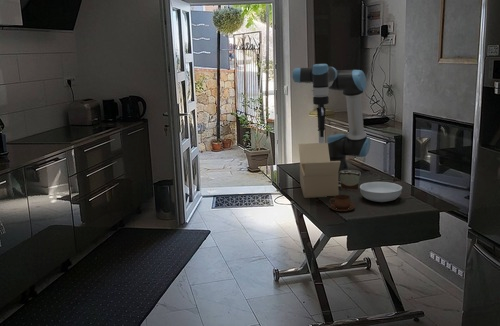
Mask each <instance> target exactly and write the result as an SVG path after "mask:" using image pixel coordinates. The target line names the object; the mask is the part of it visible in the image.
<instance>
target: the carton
mask: <svg viewBox="0 0 500 326" xmlns="http://www.w3.org/2000/svg"><path fill="white" fill-rule="evenodd" d="M305 164H306V163H300V162H299V185H300V187H301V191H302V195H303V198H305V199H307V198H328V197H327V196H337V195H339V174H338V175H331V176H307V177H304V175H305Z"/></svg>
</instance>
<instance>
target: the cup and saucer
mask: <svg viewBox="0 0 500 326" xmlns="http://www.w3.org/2000/svg"><path fill="white" fill-rule="evenodd" d="M332 200H333V201H334V202H332ZM329 208H331V209H332V210H334V211H337V212H349V211H352V210H354V209H355V208H356V205H355V203H354V202H353V203H352V202H351V196H350V195H346V194H338V195H337V196H335V197H330V199H329ZM336 208H337V209H336ZM348 208H349V209H348Z"/></svg>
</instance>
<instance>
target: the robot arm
mask: <svg viewBox="0 0 500 326" xmlns="http://www.w3.org/2000/svg"><path fill="white" fill-rule="evenodd" d="M292 79H293V82H294V83H297V84H301V83H305V84H311V85H312V89H311V92H312V95H313V97H312V102H313V105H316V106H317V107H316V116H317V128H318V129H317V131H318V143H328V149H329V157H330V161H340V167H339V171H338V174H339V172H340V171H342V170H350V169H349V167H350V166H349V165H348V164H349V163H348V161H347V159H346V158H347V157H346V156H350V157H366V156H367V155H369V152H370V149H371V148H370V147H371V138H370V137H368V136H367V135H368V134H367V133H366V132H365V130H364V129H365V128H364V117H363V106H362V105H363V104H362V95H363V94H364V91H365V90H366V89H367V78H366V74H365V73H364V71H363V70H362V69H361V70H360V69H343V70H341V69H339V70H337V69H336V68H335V67H333V66H329V65H328V64H327V63H315V64H313V65H312V67H296V68H294V69H293V70H292ZM330 90H332V91H342V95H343V96H344V97H345V100H346V108H347V109H346V110H347V120H348V121H347V122H348V132H349V133H347V134H346V133H335V134H331V135H328V136H327V138H326V142H325V130H326V128H325V127H326V126H325V125H326V111H327V110H326V107H325V105H328V104H329V101H330V99H329V93H330Z"/></svg>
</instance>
